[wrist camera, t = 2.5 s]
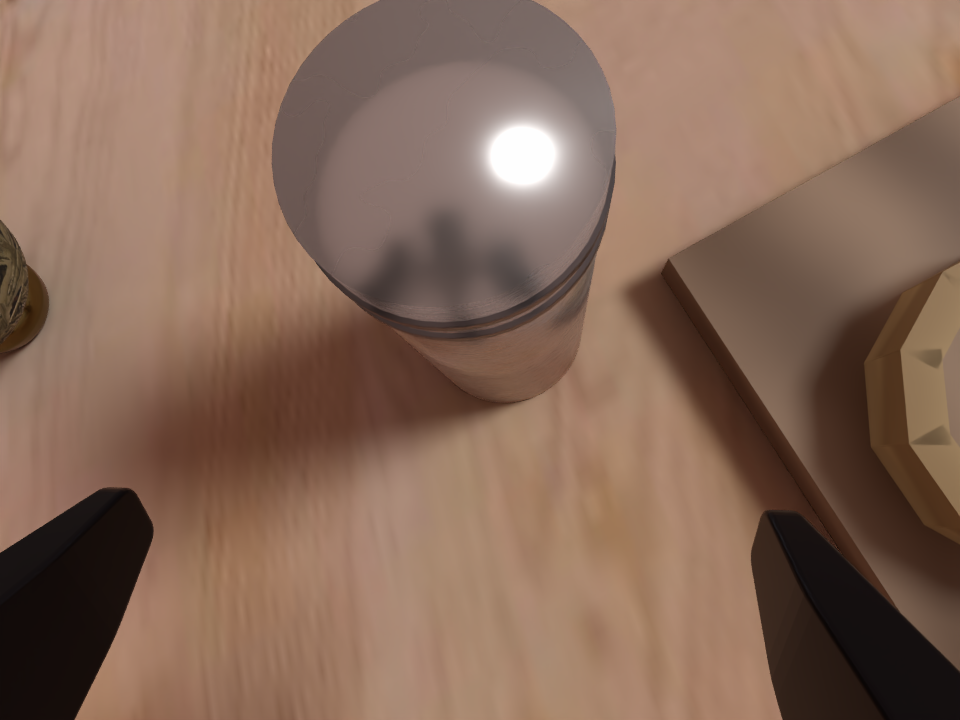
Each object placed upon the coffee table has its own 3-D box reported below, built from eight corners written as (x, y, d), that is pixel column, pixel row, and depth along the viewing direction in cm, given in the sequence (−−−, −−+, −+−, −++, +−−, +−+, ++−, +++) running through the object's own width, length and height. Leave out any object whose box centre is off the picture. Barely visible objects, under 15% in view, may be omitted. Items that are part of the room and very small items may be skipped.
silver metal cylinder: (473, 433, 21) (359, 379, 9) (403, 300, 22) (213, 88, 10) (613, 356, 21) (694, 192, 9) (534, 226, 22) (508, -80, 10)
